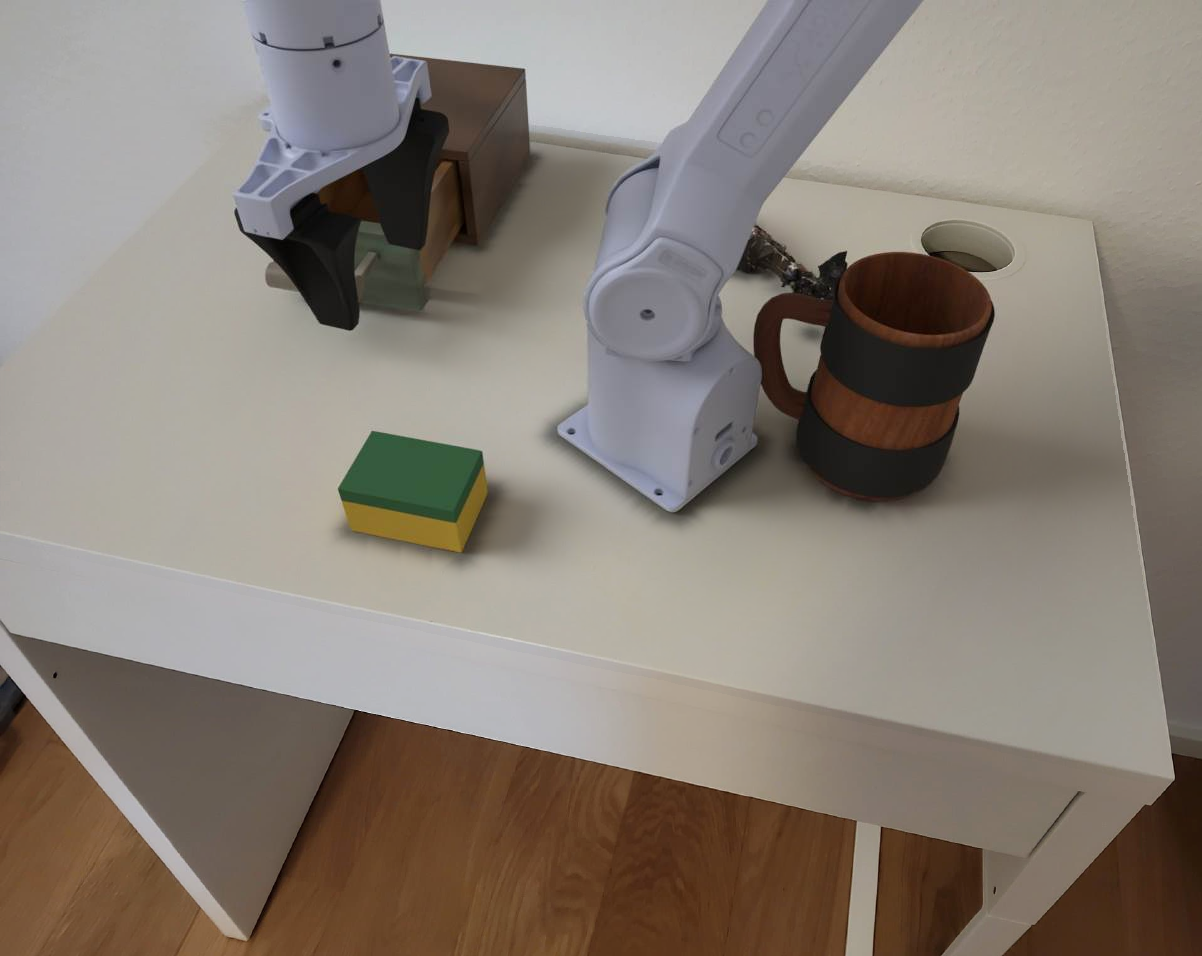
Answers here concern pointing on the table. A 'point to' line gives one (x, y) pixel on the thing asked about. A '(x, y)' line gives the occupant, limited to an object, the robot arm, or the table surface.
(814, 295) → the airplane wreck
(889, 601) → the table surface
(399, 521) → the sponge
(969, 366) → the mug
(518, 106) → the cabinet
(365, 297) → the drawer
